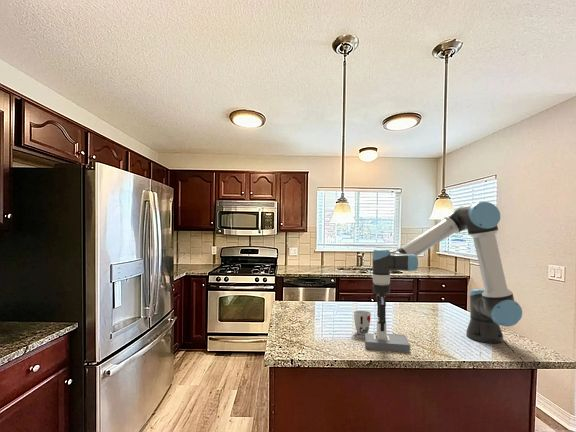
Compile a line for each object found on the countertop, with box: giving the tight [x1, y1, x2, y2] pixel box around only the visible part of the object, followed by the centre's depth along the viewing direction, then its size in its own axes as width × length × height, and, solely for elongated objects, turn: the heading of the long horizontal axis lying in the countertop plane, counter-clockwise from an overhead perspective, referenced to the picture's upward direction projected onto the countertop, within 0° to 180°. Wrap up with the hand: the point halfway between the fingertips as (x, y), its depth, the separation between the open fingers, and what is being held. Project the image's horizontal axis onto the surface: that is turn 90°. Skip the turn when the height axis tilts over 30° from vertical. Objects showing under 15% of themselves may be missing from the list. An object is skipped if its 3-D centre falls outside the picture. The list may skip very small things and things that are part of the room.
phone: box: [374, 332, 406, 336], centre depth 157 cm, size 14×7×1 cm, turn 79°
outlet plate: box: [364, 332, 411, 353], centre depth 146 cm, size 18×12×3 cm, turn 79°
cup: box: [353, 310, 372, 336], centre depth 164 cm, size 8×8×10 cm
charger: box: [376, 320, 387, 339], centre depth 147 cm, size 4×4×10 cm
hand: (381, 335), depth 147 cm, fingers open, 7 cm apart
